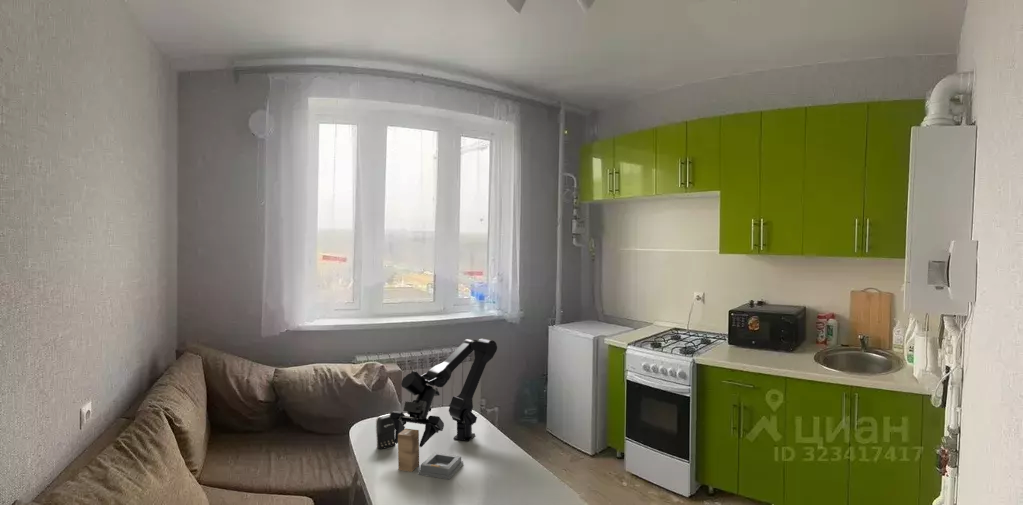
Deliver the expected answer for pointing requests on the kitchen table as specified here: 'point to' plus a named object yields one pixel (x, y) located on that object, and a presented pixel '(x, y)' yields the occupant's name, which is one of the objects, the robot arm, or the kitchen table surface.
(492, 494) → the kitchen table surface
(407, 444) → the tall cardboard box
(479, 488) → the kitchen table surface
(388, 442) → the battery charger
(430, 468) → the square gray tray
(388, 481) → the kitchen table surface
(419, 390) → the robot arm
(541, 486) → the kitchen table surface
